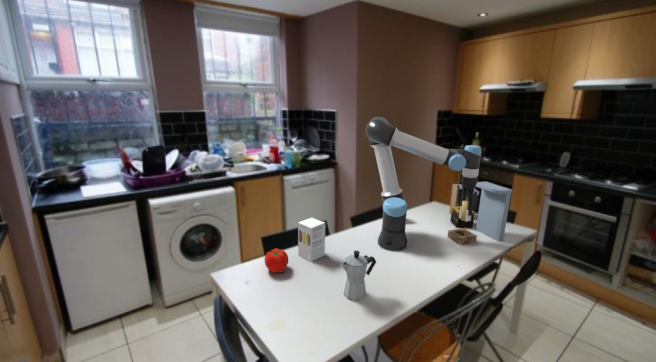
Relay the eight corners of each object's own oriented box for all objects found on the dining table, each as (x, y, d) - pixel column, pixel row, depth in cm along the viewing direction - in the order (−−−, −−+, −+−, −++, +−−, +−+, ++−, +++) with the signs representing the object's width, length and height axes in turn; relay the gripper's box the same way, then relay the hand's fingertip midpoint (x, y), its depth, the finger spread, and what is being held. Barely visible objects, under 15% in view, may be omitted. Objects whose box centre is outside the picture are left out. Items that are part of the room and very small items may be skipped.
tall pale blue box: (490, 243, 166) (499, 191, 159) (466, 230, 181) (473, 182, 174) (503, 241, 169) (512, 189, 162) (479, 228, 184) (486, 181, 177)
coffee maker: (345, 304, 116) (346, 260, 111) (335, 291, 123) (335, 249, 119) (380, 295, 122) (382, 252, 117) (368, 283, 129) (370, 242, 125)
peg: (464, 221, 164) (466, 203, 162) (458, 218, 168) (460, 200, 165) (470, 220, 166) (472, 202, 163) (464, 217, 169) (466, 200, 167)
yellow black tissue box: (473, 228, 185) (475, 212, 183) (456, 228, 185) (458, 212, 183) (466, 221, 195) (468, 206, 193) (449, 221, 195) (451, 206, 193)
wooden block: (464, 213, 208) (468, 184, 203) (469, 219, 199) (473, 188, 194) (449, 213, 209) (452, 183, 204) (453, 218, 200) (457, 188, 195)
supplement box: (297, 254, 152) (297, 222, 147) (311, 248, 158) (311, 216, 154) (311, 262, 145) (311, 227, 141) (325, 255, 152) (325, 222, 148)
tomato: (270, 279, 131) (269, 260, 129) (261, 267, 140) (260, 249, 138) (293, 272, 137) (293, 253, 135) (283, 261, 146) (282, 243, 144)
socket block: (460, 245, 164) (461, 238, 163) (447, 237, 173) (448, 230, 172) (475, 242, 167) (476, 235, 166) (462, 234, 176) (463, 228, 175)
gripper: (488, 179, 154) (482, 224, 160) (463, 171, 170) (458, 213, 176) (476, 180, 152) (471, 226, 158) (452, 172, 167) (447, 214, 173)
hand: (464, 219), depth 167 cm, fingers closed on peg, 4 cm apart
